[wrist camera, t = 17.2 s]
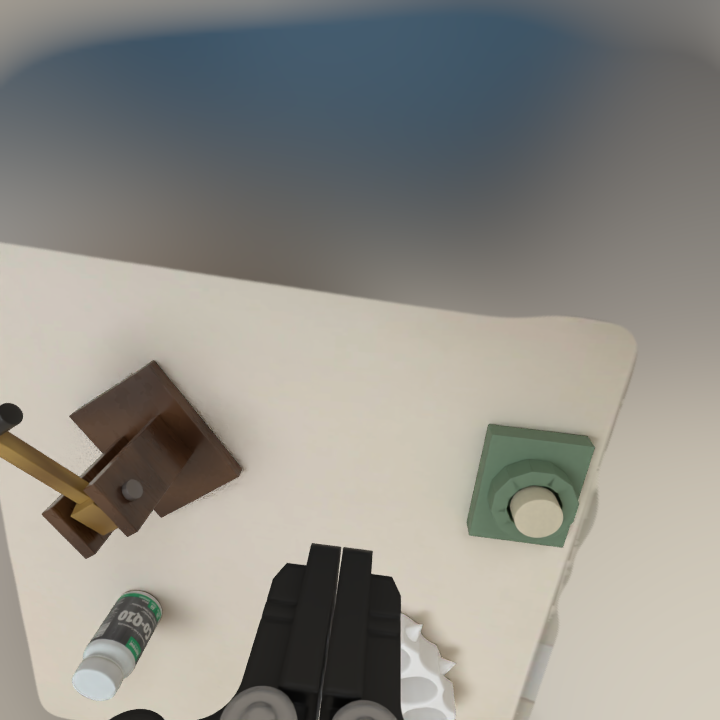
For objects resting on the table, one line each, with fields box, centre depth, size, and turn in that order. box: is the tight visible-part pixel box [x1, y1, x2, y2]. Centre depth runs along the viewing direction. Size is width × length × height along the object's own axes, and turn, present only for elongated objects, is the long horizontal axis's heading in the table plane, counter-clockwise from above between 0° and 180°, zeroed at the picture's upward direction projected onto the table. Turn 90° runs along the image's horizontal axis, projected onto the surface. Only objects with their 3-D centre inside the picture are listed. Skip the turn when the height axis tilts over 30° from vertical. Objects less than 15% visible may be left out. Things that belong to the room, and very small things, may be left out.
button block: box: [467, 424, 595, 547], centre depth 41 cm, size 10×8×4 cm
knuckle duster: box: [321, 600, 457, 720], centre depth 50 cm, size 3×18×15 cm
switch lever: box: [0, 403, 118, 536], centre depth 33 cm, size 11×5×2 cm, turn 32°
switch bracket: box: [42, 361, 242, 559], centre depth 38 cm, size 12×9×11 cm
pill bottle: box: [72, 591, 162, 701], centre depth 47 cm, size 5×5×8 cm
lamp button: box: [510, 486, 563, 538], centre depth 39 cm, size 4×4×2 cm
